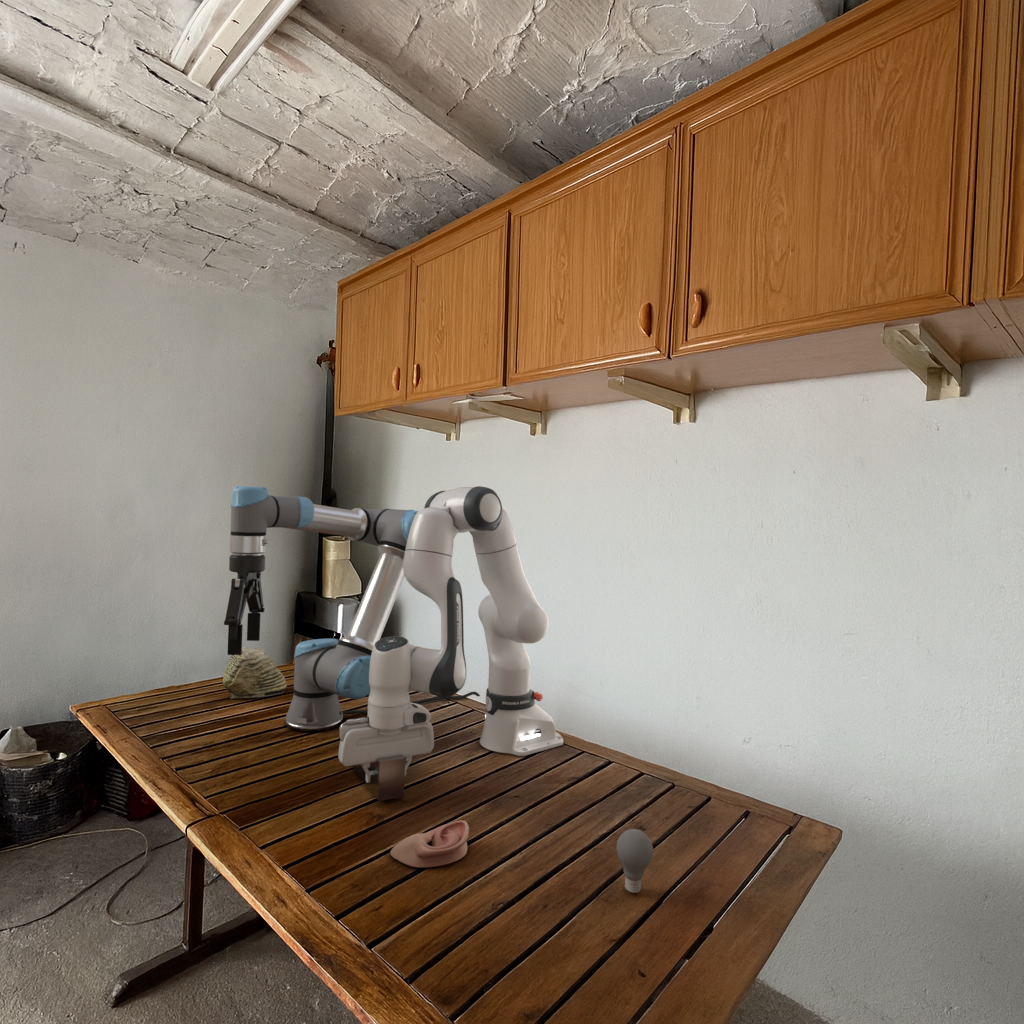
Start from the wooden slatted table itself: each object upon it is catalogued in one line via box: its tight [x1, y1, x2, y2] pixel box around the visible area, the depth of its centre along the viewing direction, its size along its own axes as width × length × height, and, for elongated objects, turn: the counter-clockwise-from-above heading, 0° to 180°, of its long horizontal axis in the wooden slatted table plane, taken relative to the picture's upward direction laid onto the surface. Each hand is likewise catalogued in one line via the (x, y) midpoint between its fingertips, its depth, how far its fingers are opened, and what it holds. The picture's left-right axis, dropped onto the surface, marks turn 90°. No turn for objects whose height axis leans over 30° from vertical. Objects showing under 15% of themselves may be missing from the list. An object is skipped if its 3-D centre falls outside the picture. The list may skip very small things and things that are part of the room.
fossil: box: [222, 646, 288, 699], centre depth 198 cm, size 9×18×15 cm, turn 132°
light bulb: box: [615, 828, 654, 894], centre depth 106 cm, size 6×6×10 cm
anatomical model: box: [389, 819, 470, 869], centre depth 115 cm, size 13×4×12 cm
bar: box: [351, 755, 406, 802], centre depth 142 cm, size 22×6×8 cm, turn 28°
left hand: (244, 647), depth 144 cm, fingers open, 13 cm apart
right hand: (386, 778), depth 136 cm, fingers closed on bar, 6 cm apart
